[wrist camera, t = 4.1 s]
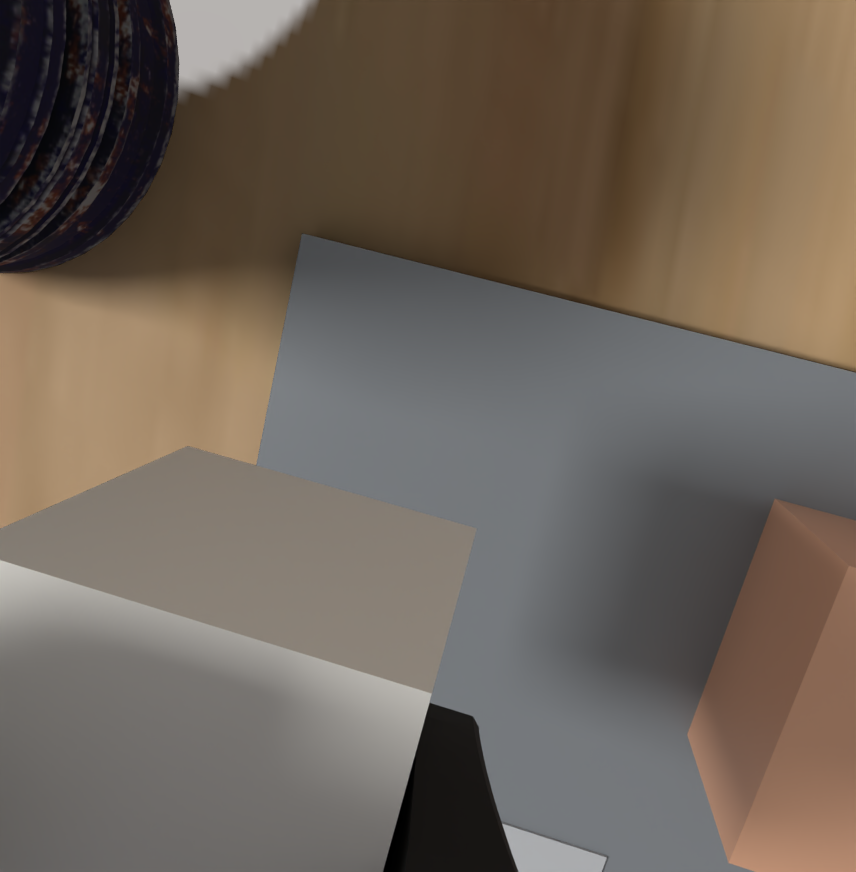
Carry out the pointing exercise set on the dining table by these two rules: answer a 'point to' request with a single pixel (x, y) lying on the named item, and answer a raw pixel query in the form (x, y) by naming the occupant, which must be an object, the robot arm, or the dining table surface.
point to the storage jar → (79, 121)
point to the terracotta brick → (786, 702)
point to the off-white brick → (216, 671)
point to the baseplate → (563, 520)
